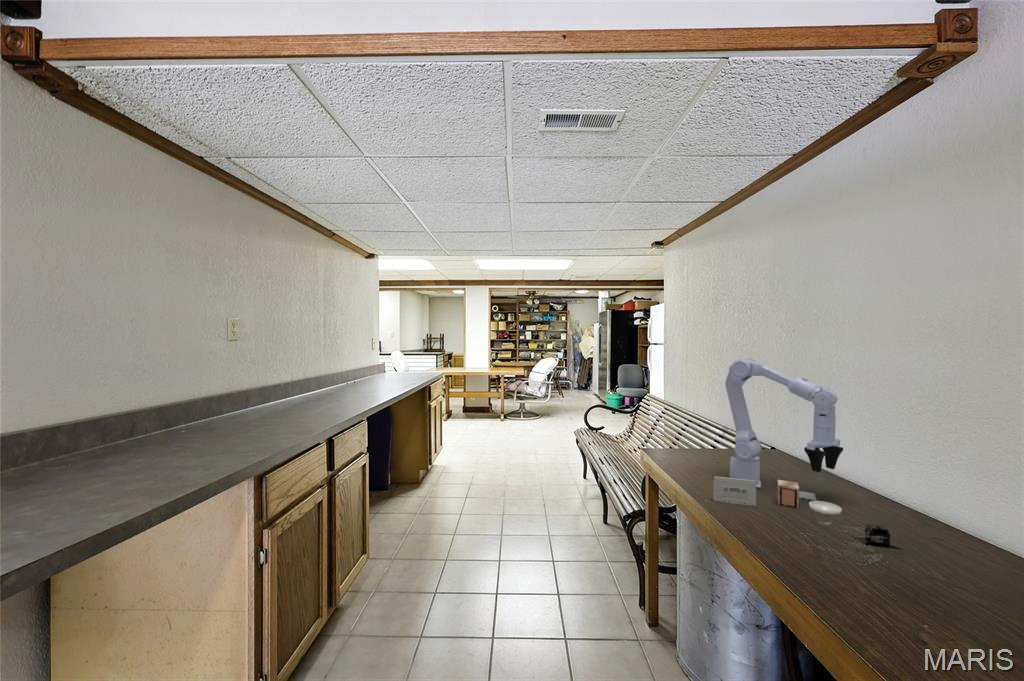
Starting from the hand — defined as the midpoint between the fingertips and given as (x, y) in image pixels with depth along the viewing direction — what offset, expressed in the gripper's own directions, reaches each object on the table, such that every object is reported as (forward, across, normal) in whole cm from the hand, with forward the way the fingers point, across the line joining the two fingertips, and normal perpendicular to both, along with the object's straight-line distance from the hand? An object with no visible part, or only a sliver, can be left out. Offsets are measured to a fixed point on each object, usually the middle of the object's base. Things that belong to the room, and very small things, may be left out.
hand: (823, 469), depth 141 cm
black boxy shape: (+10, -19, -23) cm, 31 cm away
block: (+10, -13, +3) cm, 17 cm away
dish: (+10, -8, -5) cm, 13 cm away
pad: (+10, -1, +5) cm, 11 cm away
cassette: (+10, -28, +10) cm, 31 cm away
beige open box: (+10, -13, +3) cm, 17 cm away
